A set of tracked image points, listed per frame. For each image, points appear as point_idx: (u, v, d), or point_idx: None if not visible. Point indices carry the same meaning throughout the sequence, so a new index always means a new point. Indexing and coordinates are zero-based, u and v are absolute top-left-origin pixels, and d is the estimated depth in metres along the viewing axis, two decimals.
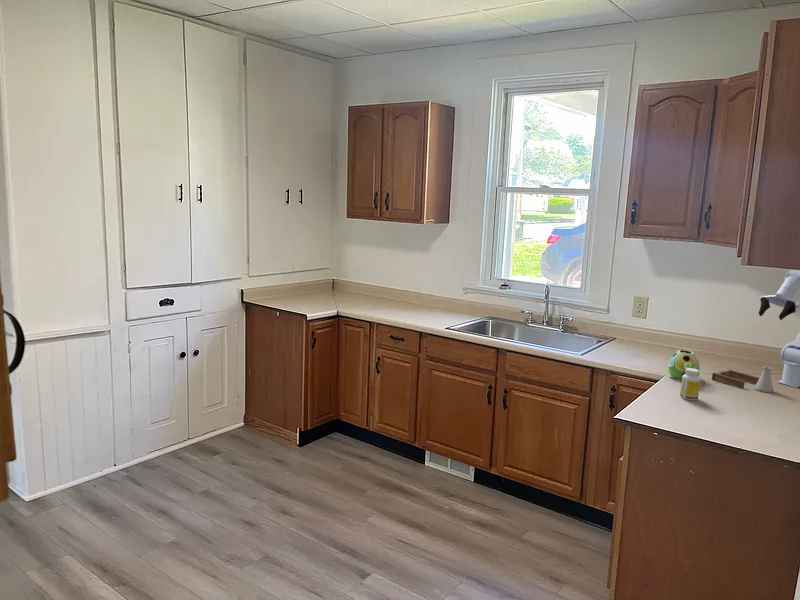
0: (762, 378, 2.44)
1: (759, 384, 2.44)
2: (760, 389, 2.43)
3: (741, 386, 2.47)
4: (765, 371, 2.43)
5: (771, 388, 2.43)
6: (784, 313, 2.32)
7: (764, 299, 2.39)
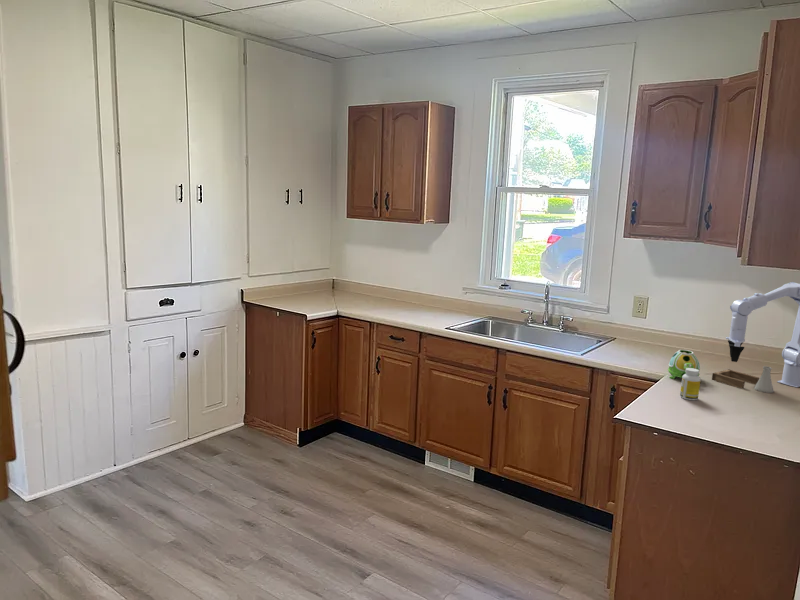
0: (762, 378, 2.44)
1: (759, 384, 2.44)
2: (760, 389, 2.43)
3: (741, 386, 2.47)
4: (765, 371, 2.43)
5: (771, 388, 2.43)
6: (734, 356, 2.48)
7: (728, 342, 2.56)
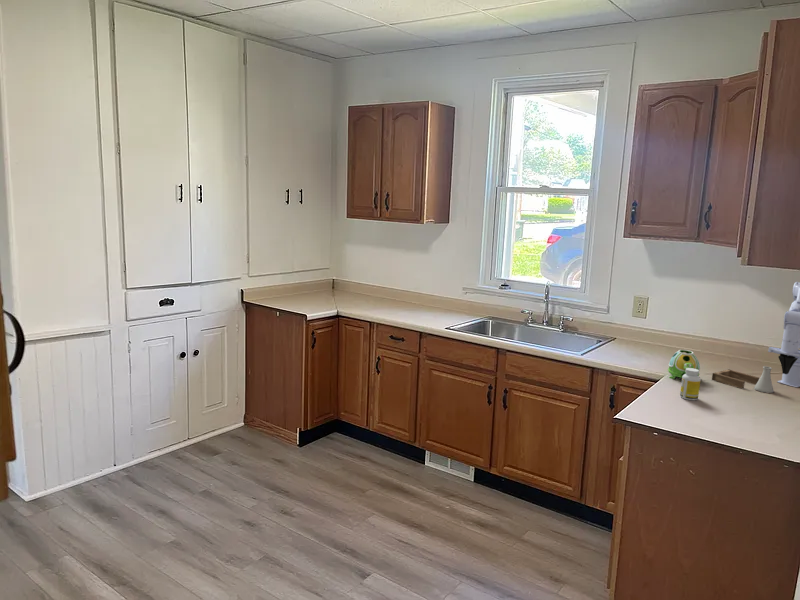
0: (762, 378, 2.44)
1: (759, 384, 2.44)
2: (760, 389, 2.43)
3: (741, 386, 2.47)
4: (765, 371, 2.43)
5: (771, 388, 2.43)
6: (788, 368, 2.36)
7: (782, 359, 2.36)
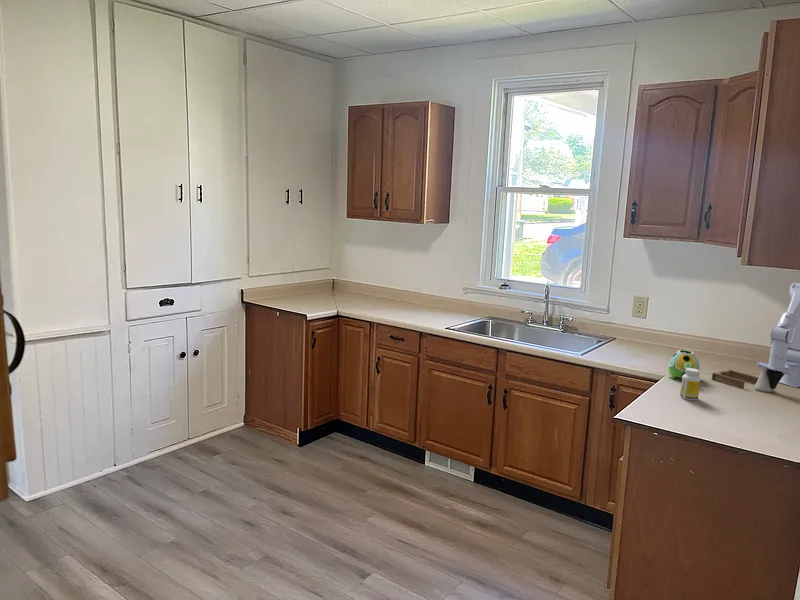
0: (761, 377, 2.44)
1: (759, 383, 2.44)
2: (760, 388, 2.43)
3: (741, 386, 2.47)
4: (763, 370, 2.44)
5: None
6: (775, 383, 2.41)
7: (770, 374, 2.40)
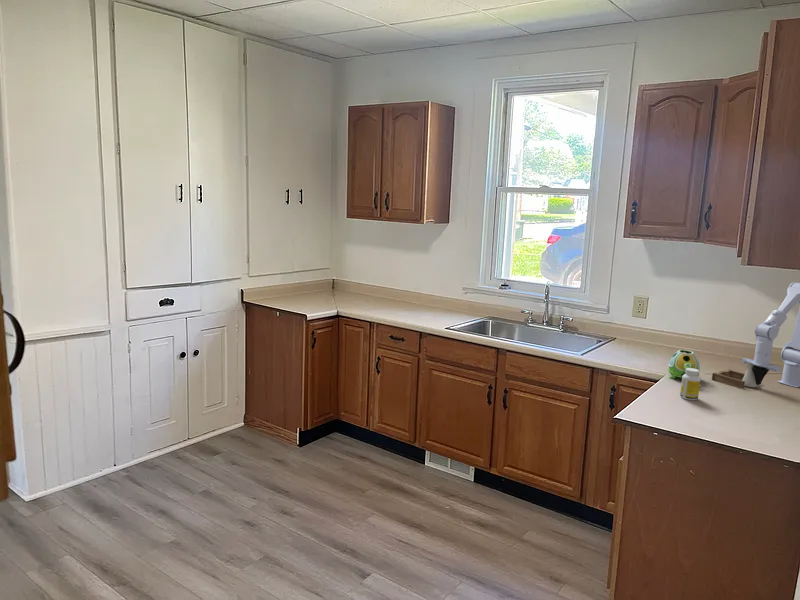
0: (747, 373, 2.49)
1: (745, 379, 2.49)
2: (746, 384, 2.48)
3: (741, 386, 2.47)
4: (749, 366, 2.48)
5: None
6: (760, 379, 2.46)
7: (755, 370, 2.45)
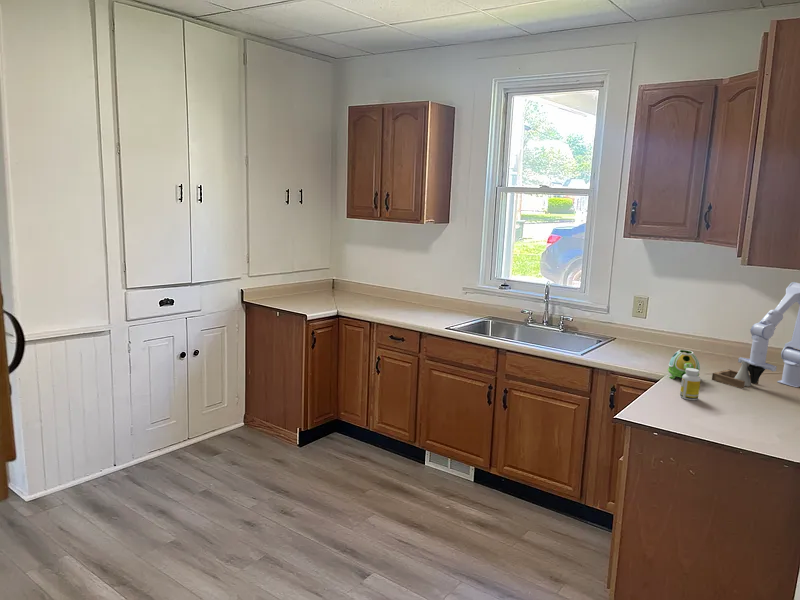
0: (740, 372, 2.51)
1: (737, 377, 2.52)
2: None
3: (741, 386, 2.47)
4: (743, 365, 2.50)
5: (749, 381, 2.50)
6: (756, 378, 2.47)
7: (750, 369, 2.47)
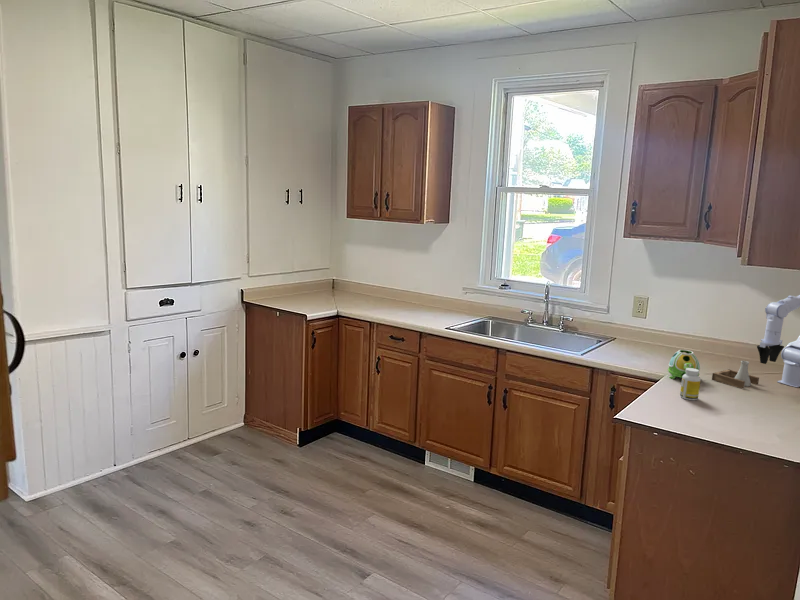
0: (740, 372, 2.51)
1: (737, 378, 2.52)
2: None
3: (741, 386, 2.47)
4: (743, 365, 2.51)
5: (749, 381, 2.50)
6: (762, 357, 2.47)
7: None
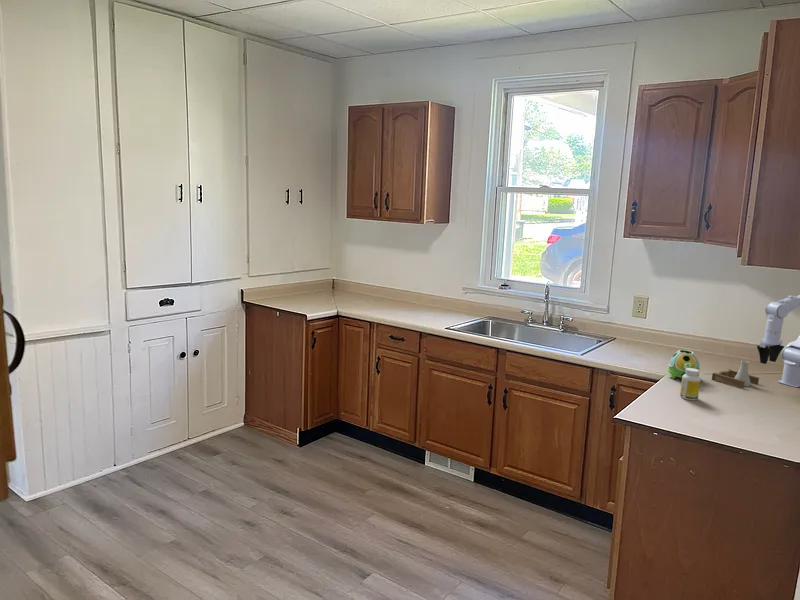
0: (740, 372, 2.51)
1: (737, 378, 2.52)
2: None
3: (741, 386, 2.47)
4: (743, 365, 2.51)
5: (748, 381, 2.50)
6: (762, 357, 2.47)
7: None
